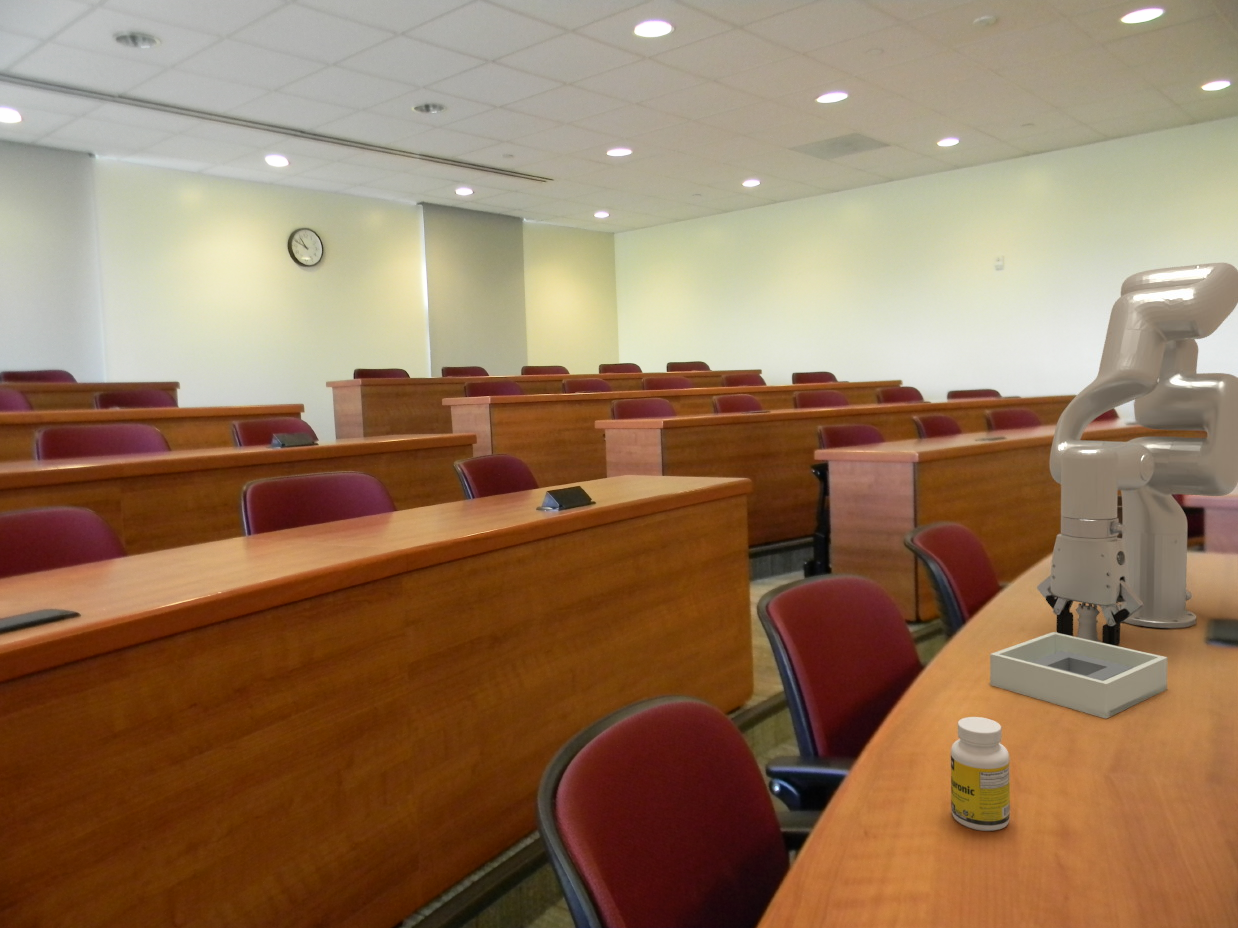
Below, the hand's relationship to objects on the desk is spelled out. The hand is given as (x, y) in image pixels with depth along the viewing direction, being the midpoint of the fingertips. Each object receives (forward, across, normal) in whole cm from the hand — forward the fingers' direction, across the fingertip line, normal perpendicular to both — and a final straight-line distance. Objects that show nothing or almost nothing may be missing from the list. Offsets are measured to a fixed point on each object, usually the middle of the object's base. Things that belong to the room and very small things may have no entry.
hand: (1087, 642), depth 134 cm
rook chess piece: (+2, 0, 0) cm, 2 cm away
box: (+2, -6, +14) cm, 15 cm away
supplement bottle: (+2, -19, +56) cm, 59 cm away
